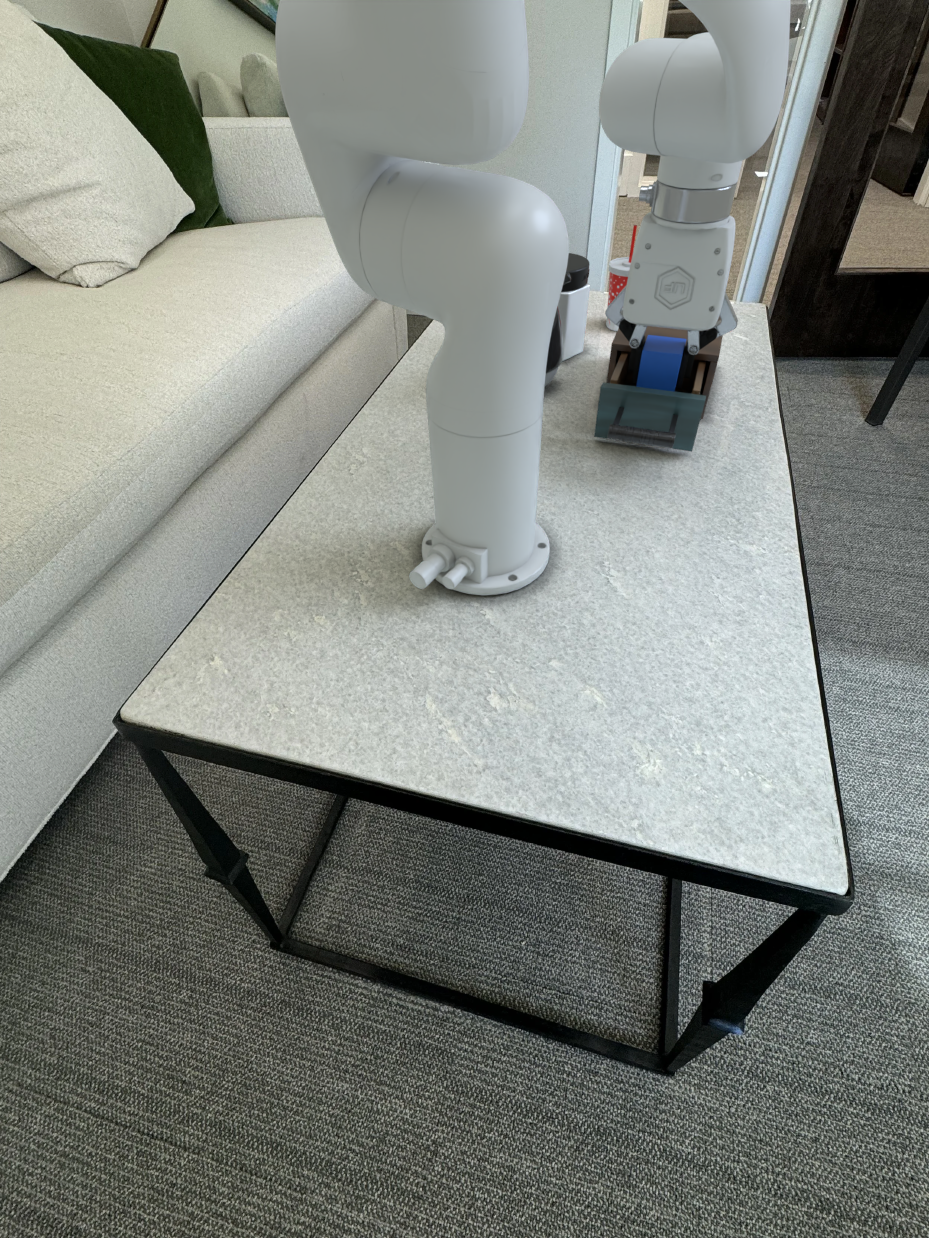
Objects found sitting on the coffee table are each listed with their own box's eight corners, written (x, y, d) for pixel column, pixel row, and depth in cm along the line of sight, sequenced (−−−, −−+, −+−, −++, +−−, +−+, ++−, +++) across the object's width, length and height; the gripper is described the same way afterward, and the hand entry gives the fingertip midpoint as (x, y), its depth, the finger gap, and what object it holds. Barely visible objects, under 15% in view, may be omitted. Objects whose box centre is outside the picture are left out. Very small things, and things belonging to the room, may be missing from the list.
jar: (589, 358, 94) (600, 269, 85) (536, 365, 93) (541, 275, 84) (569, 334, 100) (577, 248, 91) (519, 340, 99) (522, 254, 90)
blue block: (674, 392, 75) (682, 354, 71) (636, 387, 76) (642, 350, 72) (678, 375, 77) (686, 338, 74) (641, 370, 78) (647, 334, 75)
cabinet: (702, 419, 81) (719, 355, 75) (603, 405, 84) (611, 343, 78) (711, 368, 90) (727, 309, 85) (622, 358, 94) (630, 299, 88)
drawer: (686, 480, 70) (700, 427, 66) (583, 463, 73) (589, 412, 69) (702, 397, 83) (714, 349, 78) (613, 386, 86) (620, 338, 81)
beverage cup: (627, 337, 98) (643, 234, 88) (593, 327, 101) (605, 227, 91) (647, 324, 102) (665, 223, 92) (614, 315, 104) (627, 216, 94)
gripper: (599, 207, 63) (581, 385, 76) (783, 218, 59) (729, 404, 72) (613, 188, 68) (593, 358, 81) (784, 196, 63) (733, 375, 77)
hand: (658, 378), depth 76 cm, fingers closed on blue block, 4 cm apart
